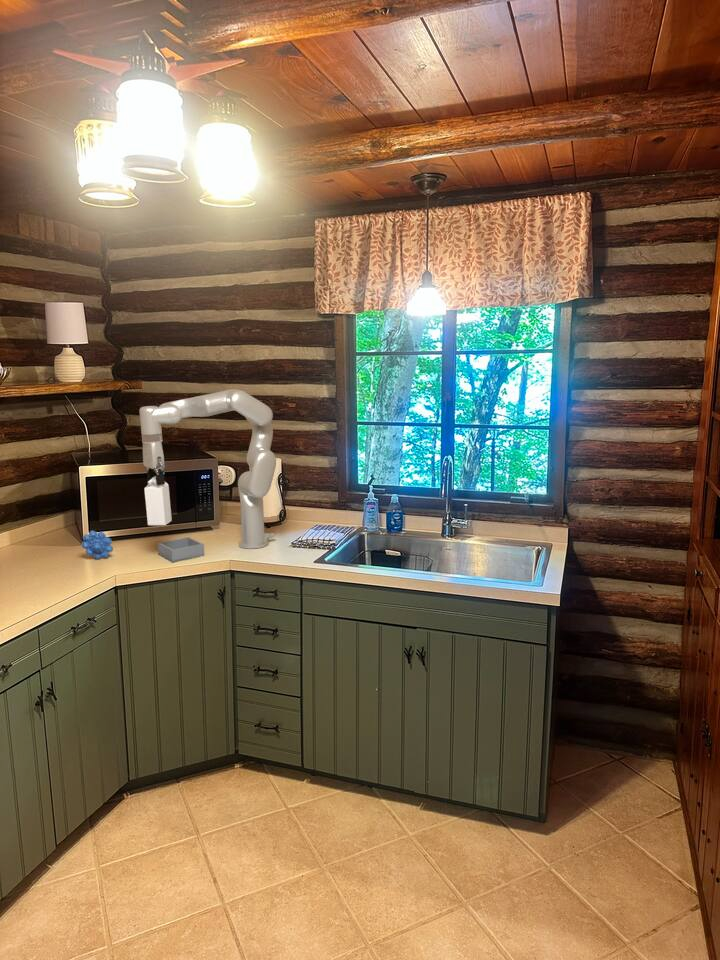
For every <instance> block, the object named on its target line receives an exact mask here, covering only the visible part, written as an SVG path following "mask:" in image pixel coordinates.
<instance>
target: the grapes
mask: <svg viewBox="0 0 720 960" xmlns="http://www.w3.org/2000/svg"><path fill="white" fill-rule="evenodd" d="M82 539H83V541H82V542H81V547H82V548H83V549H85V554H86V555H87V556H89V557H91V556H93V558H94V559H95V560H101V558H104V559H107V558H109V556H110V553H112V552H113V551H114V547H113V546H112V545H111V544H112V542H113V541H112V538H110V537H106V533H105V532H104V531H99V532H97V531H95V530H90V531H89V534H87V533H86V534H83V536H82Z"/></svg>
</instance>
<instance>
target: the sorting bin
mask: <svg viewBox="0 0 720 960" xmlns="http://www.w3.org/2000/svg"><path fill="white" fill-rule="evenodd" d="M157 550H158V556H160V555H161V556H160V557H162V558H163V557H164V558H163V559H165V560H167V561H168V562H171V563H177V562H181V561H182V562H183V561H187V560H192V559H196V558H201V556H202V557H204V556H205V544H204V543H203V542H200V541H198V540H196V539H194V538H191V536H188V537H182V538H176V539H171V540H167V541H161V542H157Z"/></svg>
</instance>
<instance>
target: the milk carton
mask: <svg viewBox="0 0 720 960" xmlns="http://www.w3.org/2000/svg"><path fill="white" fill-rule="evenodd" d="M170 497H171V496H170V486H169V484H168V483H167V482H166V481H165V484H162V485H157V484H156V476H155V477H153V478H152V479H151V480H149V481H148V480H147V485H146V486H145V487H144V499H145V509H146V518H147V519H146V521H147V526H167V524H169V523H170V522H172V521H173V519H172V518H173V517H172V509H171V498H170Z"/></svg>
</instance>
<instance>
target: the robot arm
mask: <svg viewBox="0 0 720 960" xmlns="http://www.w3.org/2000/svg"><path fill="white" fill-rule="evenodd" d="M231 411H236V412H237V413H239V414H240V415H241V416H243V417H245V419H246V420H247V422H249V424H250V426H251V430H252V431H251V433H252V434H251V439H250V443H249V447H248V450H247V454H246V463H247V465H248V466H249V467H250V468H252V469H251V470H248V471H245V472H243V473H241V474H240V476H239V478H238V479H237V488H238V495H239V500H240V501H239V503H240V524H241V525H240V526H241V540H240V541H238V543H237V545H238V547H239V548H242V549H250V550H253V549H254V550H255V549H261V548H264V547H267V546H268V545H269V541H268V539H272V538H275V533H274V532H271V533H269V532H265V517H264V516H265V515H264V499H263V498H264V497H266V496H267V495H268V494H269V492H270V490H271V486H272V483H273V479H274V476H275V471H276V467H277V458H276V455H275V453H274V452H273V451H271V448H272V442H273V435H274V429H273V424H272V420H273V417H274V414H273V410H272V409H271V407H269V406H268V405H267V404H266V403H263V402H262V401H260V400H258V399H257V398H255V397H254V396H252V395H250V394H249V393H247V392H245V391H244V390H240V389H235V388H232V389H231V388H230V389H226V390H225V389H224V390H221V391H217V392H212V393H208V394H202V395H199V396H198V395H197V396H194V397H189V398H183V399H182V398H181V399H178V400H173V401H169V402H164V403H162V404H160V405H159V406H157V405H147V406H141V407H140V408H139V420H140V431H141V442H142V462H143V466H144V467H145V468H146V475H147V482H148V481H149V480H151V479H152V478H153V477H155V476H156V484H157V485H162V484H165V482H166V479H165V467H166V465H165V456H164V450H163V444H162V442H163V433H162V425H175V424H178V423H180V421H181V420H182V419H186V418H191V417H193V418H194V417H197V418H198V417H200V418H204V417H206V418H207V417H210V416H211V417H212V416H214V415H219V414H223V413H228V412H231Z"/></svg>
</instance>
